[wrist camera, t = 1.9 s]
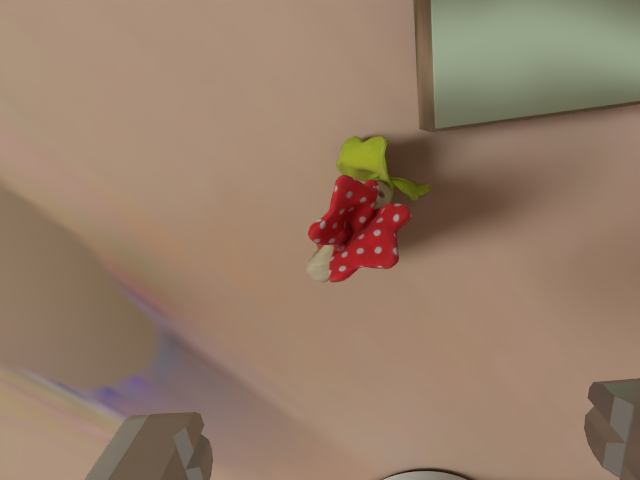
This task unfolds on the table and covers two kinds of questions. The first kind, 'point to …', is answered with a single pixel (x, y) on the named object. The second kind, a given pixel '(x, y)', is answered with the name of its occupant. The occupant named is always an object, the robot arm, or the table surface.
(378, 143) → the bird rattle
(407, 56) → the table surface
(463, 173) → the table surface
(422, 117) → the sage green square tile
